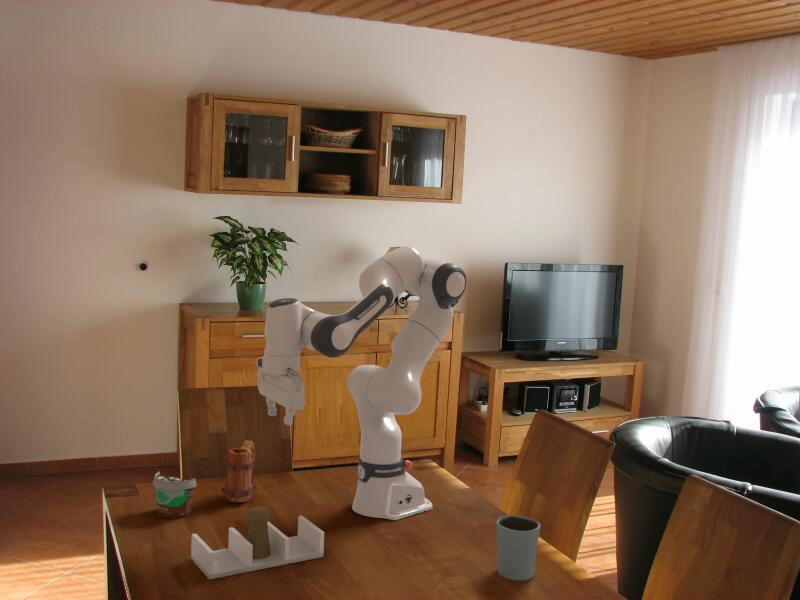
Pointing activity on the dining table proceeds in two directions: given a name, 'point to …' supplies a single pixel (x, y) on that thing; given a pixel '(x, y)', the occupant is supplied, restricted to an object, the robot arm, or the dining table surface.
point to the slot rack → (241, 551)
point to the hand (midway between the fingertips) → (280, 419)
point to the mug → (239, 473)
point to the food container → (174, 495)
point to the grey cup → (517, 547)
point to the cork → (259, 532)
